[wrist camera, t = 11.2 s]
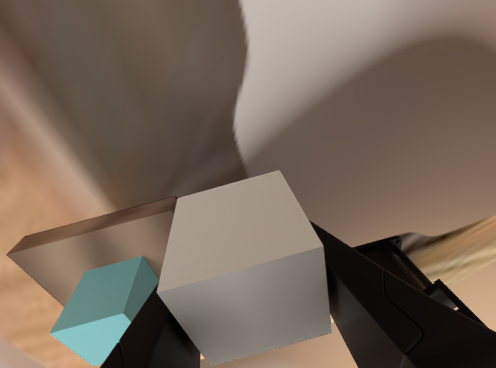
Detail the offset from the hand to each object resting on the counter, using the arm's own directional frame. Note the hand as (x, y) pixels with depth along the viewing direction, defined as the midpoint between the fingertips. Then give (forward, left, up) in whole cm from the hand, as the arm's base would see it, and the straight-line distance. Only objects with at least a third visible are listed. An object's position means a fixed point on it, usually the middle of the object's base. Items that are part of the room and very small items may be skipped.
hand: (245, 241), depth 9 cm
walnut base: (+12, +9, -10) cm, 18 cm away
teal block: (+12, +9, -8) cm, 17 cm away
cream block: (0, 0, -1) cm, 1 cm away
